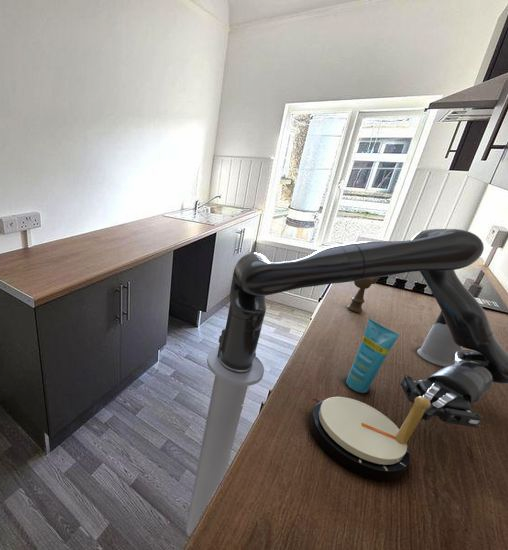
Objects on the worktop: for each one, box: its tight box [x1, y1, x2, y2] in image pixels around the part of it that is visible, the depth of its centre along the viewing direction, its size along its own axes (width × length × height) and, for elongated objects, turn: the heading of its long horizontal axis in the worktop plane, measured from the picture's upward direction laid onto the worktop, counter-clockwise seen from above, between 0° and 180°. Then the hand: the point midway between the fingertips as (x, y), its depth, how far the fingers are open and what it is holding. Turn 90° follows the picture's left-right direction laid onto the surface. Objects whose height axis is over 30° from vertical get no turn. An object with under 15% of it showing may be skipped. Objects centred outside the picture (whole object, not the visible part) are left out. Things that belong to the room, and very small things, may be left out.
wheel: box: [319, 396, 431, 465], centre depth 60 cm, size 15×15×13 cm
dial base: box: [309, 400, 411, 483], centre depth 63 cm, size 17×17×3 cm
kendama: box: [347, 277, 380, 313], centre depth 115 cm, size 6×10×20 cm, turn 130°
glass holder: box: [416, 310, 463, 368], centre depth 90 cm, size 9×14×15 cm, turn 110°
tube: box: [345, 317, 400, 394], centre depth 75 cm, size 7×5×19 cm, turn 19°
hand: (418, 414), depth 57 cm, fingers closed
